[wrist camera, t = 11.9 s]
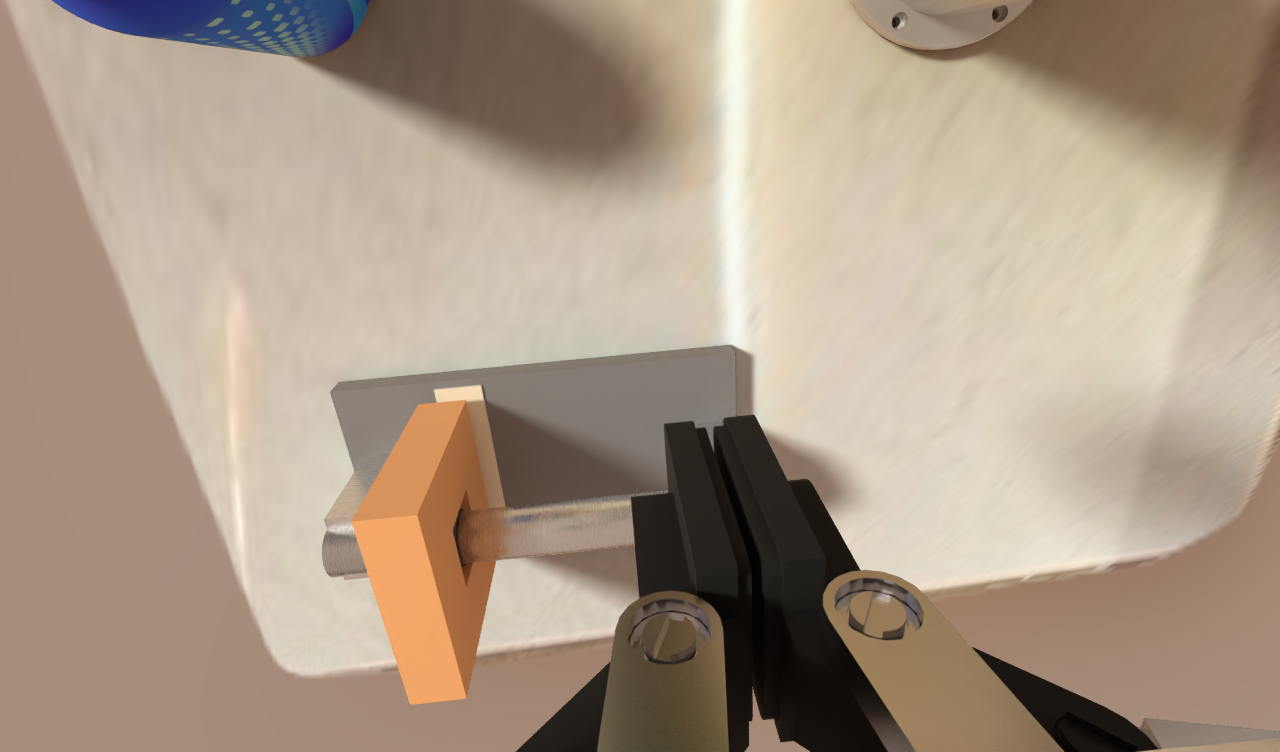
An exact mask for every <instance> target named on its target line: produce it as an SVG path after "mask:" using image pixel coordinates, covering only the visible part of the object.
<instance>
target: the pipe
mask: <svg viewBox="0 0 1280 752" xmlns="http://www.w3.org/2000/svg"><path fill="white" fill-rule="evenodd" d="M694 424H695V428H703V427H705V428H706V430H707V433H708V436H709V439H710V442H711V445H712V448H713V451H714V442H713V428H714V426H723V422H722V420H717V421H707V422H697V423H694ZM389 455H390V453H383V454H372V455H365V456H364V458H363V459H362V461H361V463H360V464H359V466H358V467H357V469H356V470H355V472H354V473H353V475H352V477H351V478H350V480H349V481H348V483H347V484H346V486H345V488H344V489H343V491H342V492H341V494H340V495H339V497H338V498H337V500H336V502H335V503H334V505H333V506H332V508H331V509H330V511H329V512H328V514H327V516H326V517H325V519H324V521H325V524H326V527H327V531H326V533H325V536H324V540H323V546H322V559H323V565H324V568H325V570H326V572H327V574H328V575H329V576H330V577H342V576H344V579H345V580H348V579H358V578H368V577H369V575H368V572H367V569H366V566H365V563H364V560H363V557H362V554H361V551H360V548H359V545H358V541H357V538H356V535H355V532H354V529H353V526H352V523H351V521H352V519H353V518H354V516H355V514H356V512H357V511H358V509H359V507H360V505H361V504H362V502H363V500H364V498H365V497H366V495H367V493H368V491H369V490H370V488H371V486H372V484H373V483H374V481H375V479H376V477H377V476H378V474H379V472H380V471H381V469H382V467H383V465H384V464H385V462H386V460H387V458H388V457H389ZM664 493H668V490H665V491H655V492H645V493H635V494H625V495H615V496H606V497H596V498H586V499H576V500H566V501H556V502H546V503H537V504H527V505H517V506H507V507H497V508H487V509H478V510H468V511H464V510H463V509H459V512H458V516H457V519H456V522H455V525H454V528H453V535H454V539H455V543H456V547H457V551H458V555H459V559H460V563H461V567H464V566H465V565H466V564H467V563H477V562H487V561H496V560H506V559H516V558H525V557H535V556H544V555H554V554H564V553H573V552H583V551H592V550H602V549H612V548H621V547H631V546H635V541H634V530H633V518H632V507H631V497H634V496H644V495H654V494H664Z"/></svg>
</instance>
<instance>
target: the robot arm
mask: <svg viewBox="0 0 1280 752" xmlns="http://www.w3.org/2000/svg"><path fill="white" fill-rule="evenodd" d="M1033 1H1034V0H850V2H851V4H852V5H853V6H854V8H855V9H856V10H857V12H858V13H859V15H860V16H861V17H862V19H863V20H864V21H865V22H866V23H867V24H868V25H869V26H870V27H872V28H873V29H874V30H875V31H876V32H877V33H878V34H880V35H881V36H883V37H885V38H887V39H889V40H890V41H892V42H894V43H896V44H898V45H902V46H905V47H909V48H913V49H917V50H943V49H950V48H957V47H961V46H964V45H968V44H971V43H974V42H978V41H980V40H982V39H984V38H986V37H988V36H989V35H991V34H993V33H995V32H997V31H999V30H1000V29H1002V28H1003V27H1004V26H1006V25H1007V24H1009V23H1010V22H1011V21H1013V20H1014V19H1015V18H1017V17H1018V16H1019V15H1020V14H1021V13H1022V12H1023V11H1024V10H1025V9H1026V8H1027V7H1028V6H1029V5H1030V4H1031V3H1032V2H1033ZM993 11H994V17H993V19H992V12H993ZM893 18H895V19H896V21H897V24H896V26H895V27H894V28H893V27H892V19H893ZM664 440H665V454H666V469H667V483H668V493H664V494H654V495H644V496H634V497H631V507H632V518H633V530H634V541H635V552H636V564H637V575H638V586H639V598H640V599H638V600H637V601H635V602H634V603H632V604H631V605H629V606H628V607H627V609H626V610H625V611H624V612H623V614H622V615H621V616H620V618H619V621H618V624H617V627H616V630H615V636H614V643H613V650H612V656H611V662H609V664H607V665H606V666H605V667H604V668H603V669H602V670H601V671H600V672H599V673H598V674H597V675H596V676H595V677H594V678H593V679H592V680H591V681H590V682H588V683H587V685H585V686H584V687H583V688H582V689H581V690H580V691H579V692H578V693H577V694H576V695H575V696H574V697H573V698H572V699H571V700H570V701H568V703H567V704H565V705H564V706H563V707H562V708H561V709H560V710H559V711H558V712H557V713H556V714H555V715H554V716H553V717H552V718H551V719H550V720H549V721H547V723H545V724H544V725H543V726H542V727H541V728H540V729H539V730H538V731H537V732H536V733H535V734H534V735H533V736H532V737H531V738H530V739H529V740H528V741H527V742H525V743H524V744H523V745H522V746H521V747H520V748H519V749H518V750H517V751H516V752H744V751H745V750H746V749H747V747H748V746H749V721H752V717H753V713H752V712H753V709H752V708H753V706H752V705H753V701H752V700H753V699H752V698H753V697H752V686H753V690H754V693H755V697H756V701H757V705H758V708H759V712H760V715H761V718H762V719H763V720H766V719H774V721H775V725H776V728H777V732H778V735H779V738H780V742H787V741H795V742H796V743H798V744H799V745H801V746H803V747H804V748H806V749H807V750H809V751H810V752H1280V731H1273V730H1262V729H1252V728H1242V727H1232V726H1231V727H1230V726H1221V725H1211V724H1201V723H1189V722H1180V721H1168V720H1159V719H1149V718H1144V719H1143V722H1142V725H1141V727H1136V726H1135V725H1133V724H1132V723H1131V722H1129V721H1128V720H1127V719H1125V718H1124V717H1122V716H1120V715H1118V714H1117V713H1115V712H1113V711H1111V710H1109V709H1108V708H1106V707H1104V706H1102V705H1099V704H1097V703H1095V702H1093V701H1091V700H1088V699H1086V698H1084V697H1082V696H1080V695H1077V694H1075V693H1073V692H1070V691H1068V690H1066V689H1064V688H1062V687H1060V686H1057V685H1055V684H1053V683H1051V682H1049V681H1046V680H1044V679H1042V678H1040V677H1037V676H1035V675H1033V674H1031V673H1029V672H1026V671H1024V670H1022V669H1019V668H1017V667H1015V666H1013V665H1011V664H1008V663H1006V662H1004V661H1002V660H1000V659H998V658H995V657H993V656H991V655H989V654H987V653H984V652H982V651H980V650H978V649H975V648H973V647H971V646H970V645H969V644H968V643H967V641H966V640H965V639H964V638H963V637H962V636H961V635H960V633H958V631H957V630H956V629H955V628H954V627H953V626H952V625H951V623H950V622H949V621H948V620H947V619H946V618H945V617H944V615H943V614H942V613H941V612H940V611H939V610H938V609H937V608H936V606H935V605H934V604H933V603H932V602H931V601H930V600H929V598H928V597H927V596H926V595H925V594H924V593H922V592H921V591H920V590H919V589H918V588H917V587H915V586H914V585H913V584H911V583H909V582H907V581H905V580H904V579H902V578H900V577H897V576H894V575H891V574H888V573H885V572H879V571H870V570H860V568H859V567H858V565H857V563H856V561H855V560H854V558H853V556H852V554H851V552H850V551H849V549H848V547H847V545H846V543H845V542H844V540H843V538H842V536H841V535H840V533H839V531H838V529H837V527H836V526H835V524H834V522H833V520H832V518H831V517H830V515H829V513H828V511H827V510H826V508H825V506H824V504H823V502H822V501H821V499H820V497H819V495H818V493H817V492H816V490H815V488H814V486H813V485H812V483H811V482H810V481H809V480H807V479H801V480H791V481H787V479H786V477H785V475H784V473H783V471H782V469H781V467H780V465H779V463H778V461H777V459H776V457H775V455H774V453H773V451H772V449H771V447H770V445H769V443H768V441H767V439H766V437H765V435H764V433H763V431H762V429H761V427H760V425H759V423H758V421H757V419H756V417H755V415H746V416H736V417H726V418H724V420H723V426H714V428H713V442H714V451H713V448H712V445H711V442H710V439H709V436H708V433H707V430H706V428H705V427H703V428H695V424H694V422H693V421H685V422H675V423H665V424H664Z"/></svg>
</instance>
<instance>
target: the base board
mask: <svg viewBox="0 0 1280 752" xmlns="http://www.w3.org/2000/svg"><path fill="white" fill-rule="evenodd" d="M330 393H331V396H332V400H333V403H334V406H335V409H336V413H337V416H338V419H339V422H340V426H341V429H342V432H343V435H344V439H345V442H346V445H347V448H348V452H349V455H350V458H351V461H352V465H353V468H354V471H355V470H356V469H357V467H358V466H359V464H360V463H361V461H362V459H363V458H364V456H365V455H372V454H383V453H391V451H392V450H393V448H394V446H395V444H396V443H397V441H398V439H399V437H400V436H401V434H402V432H403V430H404V429H405V427H406V425H407V423H408V422H409V420H410V418H411V417H412V415H413V413H414V411H415V410H416V408H417V406H418V404H428V403H439V402H449V401H459V400H466V402H467V406H468V411H469V416H470V420H471V425H472V430H473V435H474V439H475V444H476V449H477V454H478V458H479V463H480V468H481V472H482V477H483V482H484V487H485V491H486V496H487V501H488V506H489V508H497V507H507V506H517V505H527V504H537V503H546V502H556V501H566V500H576V499H586V498H596V497H606V496H615V495H625V494H635V493H645V492H655V491H665V490H668V483H667V469H666V454H665V440H664V424H665V423H675V422H685V421H693V422H694V423H697V422H707V421H717V420H722V422H723V420H724V418H726V417H736V368H735V352H734V350H733V348H732V346H731V345H724V346H714V347H703V348H693V349H682V350H672V351H661V352H651V353H640V354H630V355H619V356H609V357H598V358H588V359H577V360H567V361H556V362H546V363H535V364H525V365H515V366H504V367H494V368H483V369H473V370H462V371H452V372H441V373H431V374H420V375H410V376H399V377H389V378H378V379H368V380H357V381H347V382H339V383H338V384H337V385H336V386H335V387H334V388H333V389H332V390H331V392H330Z"/></svg>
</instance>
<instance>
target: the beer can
mask: <svg viewBox="0 0 1280 752" xmlns="http://www.w3.org/2000/svg"><path fill="white" fill-rule="evenodd" d="M52 1H53V2H55V3H56V4H58V5H59V6H61V7H62V8H64V9H65V10H67V11H69V12H70V13H72V14H74V15H76V16H77V17H79V18H82V19H84V20H86V21H88V22H90V23H92V24H95V25H98V26H100V27H103V28H106V29H109V30H112V31H116V32H120V33H124V34H129V35H135V36H142V37H149V38H157V39H164V40H172V41H179V42H187V43H195V44H202V45H210V46H217V47H225V48H232V49H240V50H247V51H255V52H262V53H270V54H278V55H285V56H293V57H311V56H317V55H321V54H325V53H327V52H330V51H332V50H334V49H336V48H338V47H339V46H341V45H342V44H344V43H345V42H346V41H347V40H348V39H350V38H351V37H352V35H353V34H354V33H355V32H356V31H357V29H358V28H359V26H360V25H361V23H362V21H363V19H364V17H365V15H366V13H367V10H368V7H369V3H370V0H52Z"/></svg>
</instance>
